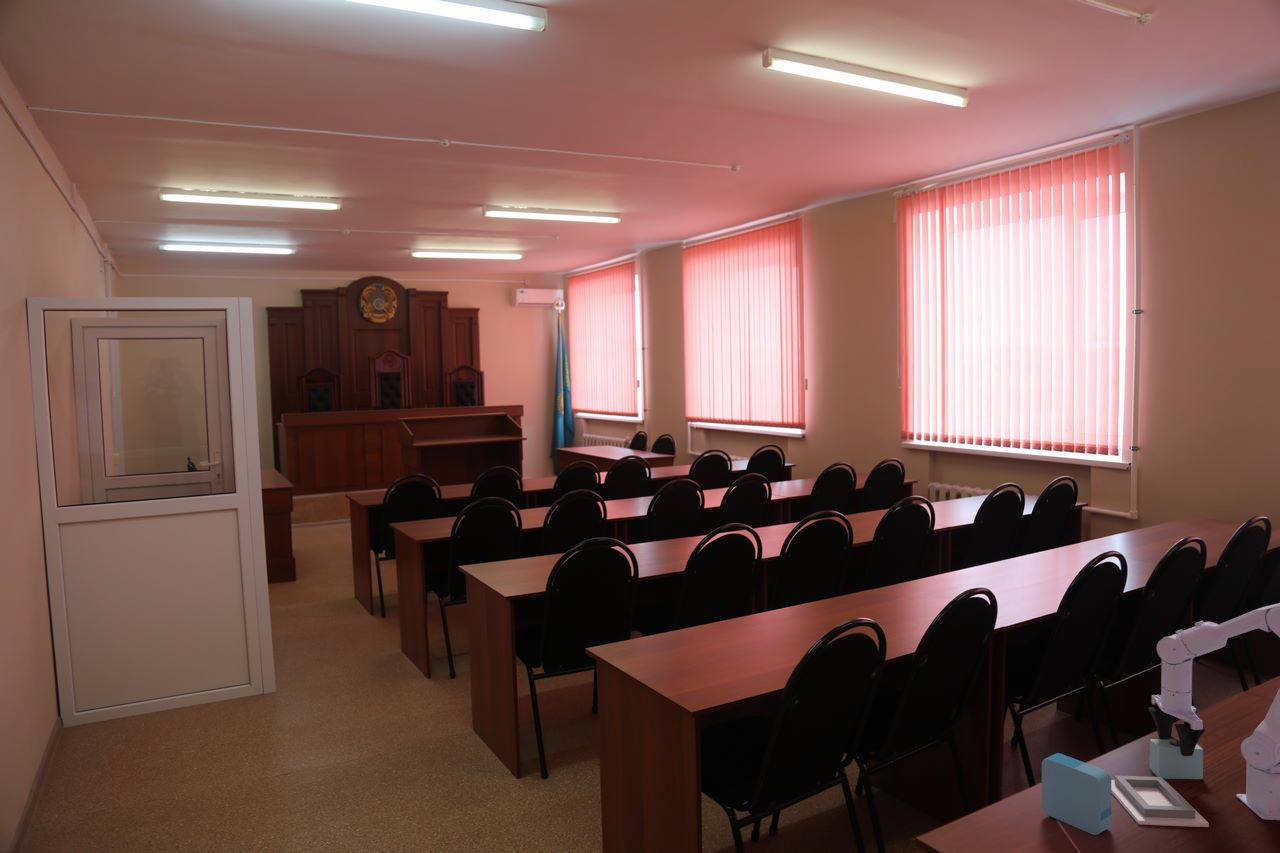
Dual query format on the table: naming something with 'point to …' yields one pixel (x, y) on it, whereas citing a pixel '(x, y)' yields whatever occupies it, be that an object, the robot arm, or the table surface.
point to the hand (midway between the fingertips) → (1175, 747)
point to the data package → (1076, 793)
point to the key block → (1174, 760)
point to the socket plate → (1154, 802)
